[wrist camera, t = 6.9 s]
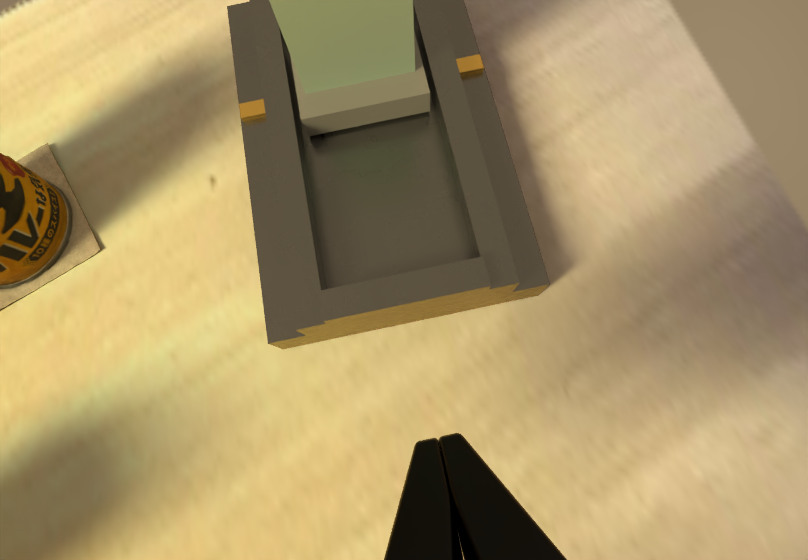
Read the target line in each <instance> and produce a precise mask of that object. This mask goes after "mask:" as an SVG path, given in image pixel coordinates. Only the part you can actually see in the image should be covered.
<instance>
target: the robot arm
mask: <svg viewBox="0 0 808 560" xmlns="http://www.w3.org/2000/svg"><path fill="white" fill-rule="evenodd" d="M458 534H459V535H458ZM459 539H460V540H459ZM460 543H461V545H460ZM461 548H462V550H461ZM462 552H463V555H462ZM463 556H464V560H567V559H566V558H565V557H564V556H563V554H562V553H561V552H560V551H559V550H558V549H557V547H556V546H555V545H554V544H553V543H552V541H551V540H550V539H549V538H548V537H547V535H546V534H545V533H544V532H543V531H542V530H541V528H540V527H539V526H538V525H537V524H536V522H535V521H534V520H533V519H532V518H531V516H530V515H529V514H528V513H527V512H526V511H525V509H524V508H523V507H522V506H521V505H520V503H519V502H518V501H517V500H516V499H515V497H514V496H513V495H512V494H511V493H510V491H509V490H508V489H507V488H506V487H505V486H504V484H503V483H502V482H501V481H500V480H499V478H498V477H497V476H496V475H495V474H494V472H493V471H492V470H491V469H490V468H489V467H488V465H487V464H486V463H485V462H484V461H483V459H482V458H481V457H480V456H479V455H478V453H477V452H476V451H475V450H474V449H473V448H472V446H471V445H470V444H469V443H468V442H467V440H466V439H465V438H464V437H463V436H462V435H461V434H459V433H455V434H450V435H446V436H442V437H440V438H439V441H438V440H437V439H436V438H431V439H427V440H422V441H418V442H417V443H416V444H415V447H414V450H413V454H412V458H411V462H410V465H409V469H408V473H407V476H406V480H405V484H404V487H403V491H402V495H401V498H400V502H399V506H398V510H397V513H396V517H395V521H394V524H393V528H392V532H391V535H390V539H389V543H388V547H387V550H386V554H385V558H384V560H463Z"/></svg>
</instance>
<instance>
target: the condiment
mask: <svg viewBox="0 0 808 560" xmlns="http://www.w3.org/2000/svg"><path fill="white" fill-rule="evenodd" d="M99 250H100V248H99V245H98V243H97V242H96V239H95V237H94V235H93V233H92V230H91V228H90V227H89V225H88V223H87V220H86V218H85V216H84V214H83V212H82V210H81V208H80V206H79V203H78V201H77V199H76V197H75V195H74V194H73V192H72V190H71V188H70V186H69V184H68V182H67V180H66V178H65V176H64V174H63V172H62V171H61V169H60V167H59V166H58V164H57V162H56V160H55V158H54V156H53V154H52V152H51V150H50V148H49V145H48V143H47V144H45V145H43V146H41V147H40V148H38V149H36V150H35V151H33V152H31V153H30V154H28V155H26V156H25V157H23V158H22V159H20V160H18V161H17V162H16V161H14V160H13V159H12V158H10V157H9V156H5V155H3V154H1V153H0V309H1V308H4V307H6V306H8V305H9V304H10V303H12V302H15V301H16V300H18V299H20V298H22V297H24V296H26V295H28V294H29V293H31V292H33V291H35V290H36V289H38V288H39V287H41V286H43V285H44V284H46V283H48V282H49V281H51V280H53V279H55V278H56V277H58V276H60V275H62V274H63V273H65V272H67V271H69V270H70V269H72V268H73V267H74V266H76V265H78V264H80V263H82V262H84V261H85V260H87V259H89V258H90V257H91V256H93V255H95V254H96V253H97V252H98V251H99Z"/></svg>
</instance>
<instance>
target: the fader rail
mask: <svg viewBox="0 0 808 560" xmlns="http://www.w3.org/2000/svg"><path fill="white" fill-rule="evenodd" d="M227 9H228V18H229V26H230V34H231V42H232V50H233V59H234V67H235V75H236V83H237V92H238V100H239V108H240V116H241V124H242V133H243V141H244V149H245V157H246V166H247V174H248V182H249V190H250V199H251V207H252V215H253V223H254V231H255V240H256V248H257V256H258V264H259V273H260V281H261V289H262V297H263V305H264V314H265V322H266V330H267V338H268V344H270V345H273V346H276V347H279V348H281V349H286V348H291V347H296V346H300V345H305V344H310V343H315V342H319V341H324V340H329V339H333V338H338V337H343V336H348V335H352V334H357V333H362V332H367V331H371V330H376V329H381V328H386V327H390V326H395V325H400V324H405V323H409V322H414V321H419V320H423V319H428V318H433V317H438V316H442V315H447V314H452V313H457V312H461V311H466V310H471V309H476V308H480V307H485V306H490V305H495V304H499V303H504V302H509V301H513V300H518V299H523V298H528V297H532V296H537V295H539V294H540V293H541V292H542V291H543V290H544V289H545V288H546V287H547V286H549V285H550V283H549V280H548V277H547V273H546V270H545V267H544V263H543V260H542V257H541V254H540V250H539V247H538V244H537V240H536V237H535V234H534V231H533V227H532V224H531V221H530V217H529V214H528V211H527V207H526V204H525V201H524V198H523V194H522V191H521V188H520V184H519V181H518V178H517V175H516V171H515V168H514V165H513V161H512V158H511V155H510V152H509V148H508V145H507V142H506V138H505V135H504V132H503V129H502V125H501V122H500V119H499V115H498V112H497V109H496V105H495V102H494V99H493V96H492V92H491V89H490V86H489V82H488V79H487V76H486V73H485V69H484V66H483V63H482V59H481V56H480V53H479V50H478V46H477V43H476V40H475V36H474V33H473V30H472V27H471V23H470V20H469V17H468V13H467V10H466V7H465V3H464V0H413V17H414V33H415V37H416V40H417V44H418V48H419V52H420V56H421V60H422V63H423V67H424V71H425V75H426V79H427V83H428V87H429V90H430V111H429V112H424V113H419V114H414V115H410V116H405V117H400V118H395V119H390V120H385V121H381V122H376V123H371V124H366V125H361V126H357V127H352V128H347V129H342V130H337V131H333V132H328V133H323V134H318V135H313V136H308V135H307V132H306V130H305V128H304V126H303V123H302V121H301V118H300V111H299V105H298V99H297V93H296V87H295V81H294V75H293V69H292V63H291V57H290V53H289V50H288V47H287V45H286V42H285V40H284V37H283V35H282V32H281V30H280V27H279V25H278V22H277V19H276V17H275V14H274V12H273V9H272V7H271V4H270V2H269V0H250V2H246V3H241V4H236V5H231V6H227Z"/></svg>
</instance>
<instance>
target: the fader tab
mask: <svg viewBox="0 0 808 560" xmlns="http://www.w3.org/2000/svg"><path fill="white" fill-rule="evenodd" d="M269 2H270V4H271V7H272V9H273V12H274V14H275V17H276V19H277V22H278V25H279V27H280V30H281V32H282V35H283V37H284V40H285V42H286V45H287V47H288V50H289V53H290V57H291V63H292V69H293V75H294V81H295V87H296V93H297V99H298V105H299V111H300V118H301V121H302V123H303V126H304V128H305V130H306V132H307V135H308V136H313V135H318V134H323V133H328V132H333V131H337V130H342V129H347V128H352V127H357V126H361V125H366V124H371V123H376V122H381V121H385V120H390V119H395V118H400V117H405V116H410V115H414V114H419V113H424V112H429V111H430V90H429V87H428V83H427V79H426V75H425V71H424V67H423V63H422V60H421V56H420V52H419V48H418V44H417V40H416V37H415V33H414V17H413V0H269Z"/></svg>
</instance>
